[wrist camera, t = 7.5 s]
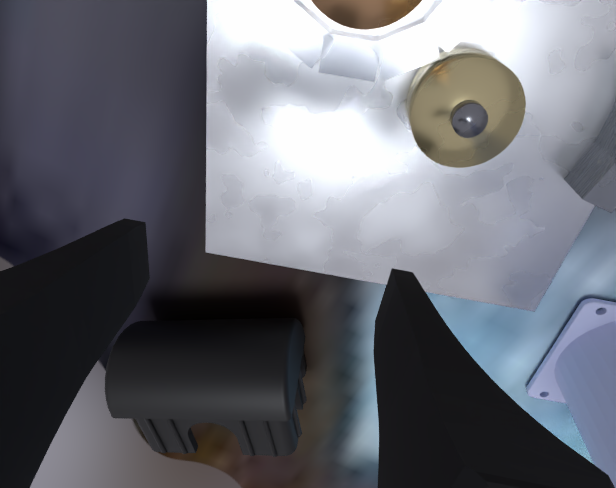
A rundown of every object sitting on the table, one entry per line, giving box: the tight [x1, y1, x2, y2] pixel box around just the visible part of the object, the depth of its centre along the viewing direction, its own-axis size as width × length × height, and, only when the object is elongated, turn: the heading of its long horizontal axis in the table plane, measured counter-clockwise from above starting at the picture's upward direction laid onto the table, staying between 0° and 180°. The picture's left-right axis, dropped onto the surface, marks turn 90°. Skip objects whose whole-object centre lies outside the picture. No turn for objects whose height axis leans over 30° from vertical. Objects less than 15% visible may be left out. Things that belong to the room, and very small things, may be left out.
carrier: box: [206, 0, 616, 312], centre depth 17 cm, size 18×20×4 cm
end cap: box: [105, 318, 307, 457], centre depth 25 cm, size 10×7×7 cm
